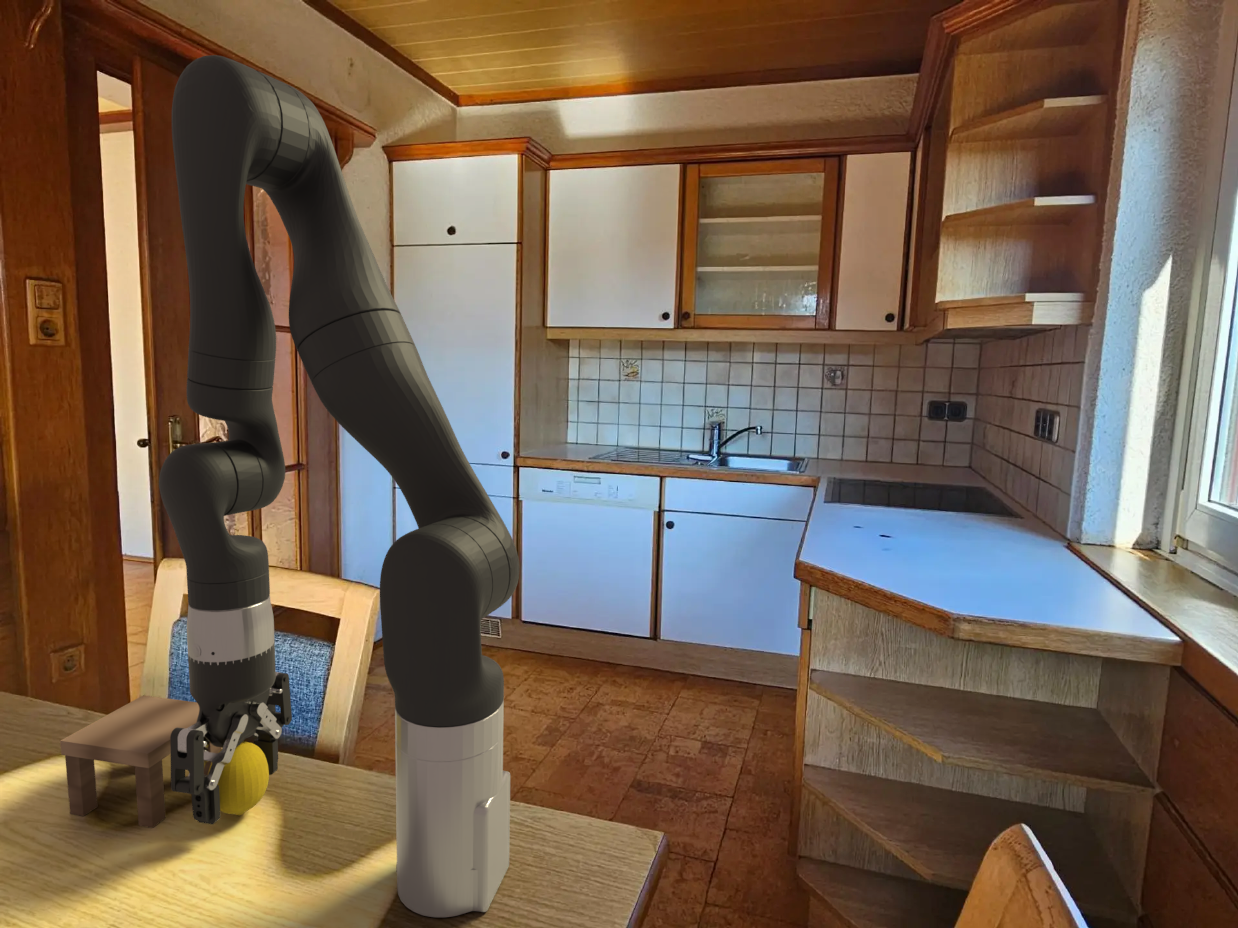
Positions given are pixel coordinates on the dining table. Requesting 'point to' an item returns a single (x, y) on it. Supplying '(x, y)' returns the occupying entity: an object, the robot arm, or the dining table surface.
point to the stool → (128, 752)
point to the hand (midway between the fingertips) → (239, 795)
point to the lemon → (243, 779)
